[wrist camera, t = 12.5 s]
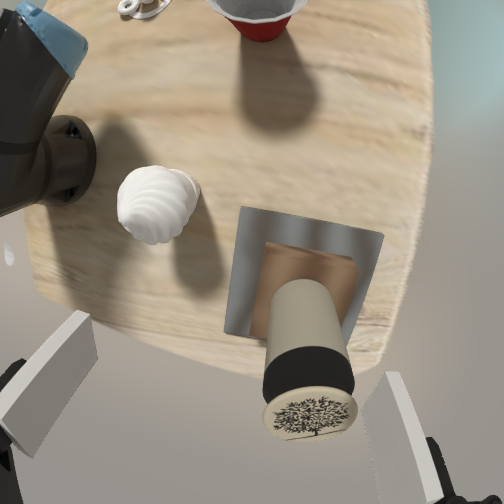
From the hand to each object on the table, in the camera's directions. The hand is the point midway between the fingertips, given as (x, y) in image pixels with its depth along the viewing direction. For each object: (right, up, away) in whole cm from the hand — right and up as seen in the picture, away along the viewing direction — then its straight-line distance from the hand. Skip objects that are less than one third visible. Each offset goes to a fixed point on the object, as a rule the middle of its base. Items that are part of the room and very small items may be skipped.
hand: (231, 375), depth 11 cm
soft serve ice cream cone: (-8, +14, +27) cm, 32 cm away
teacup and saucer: (-17, +46, +17) cm, 52 cm away
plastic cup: (+2, +36, +18) cm, 40 cm away
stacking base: (+8, 0, +30) cm, 31 cm away
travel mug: (+7, -2, +25) cm, 26 cm away
